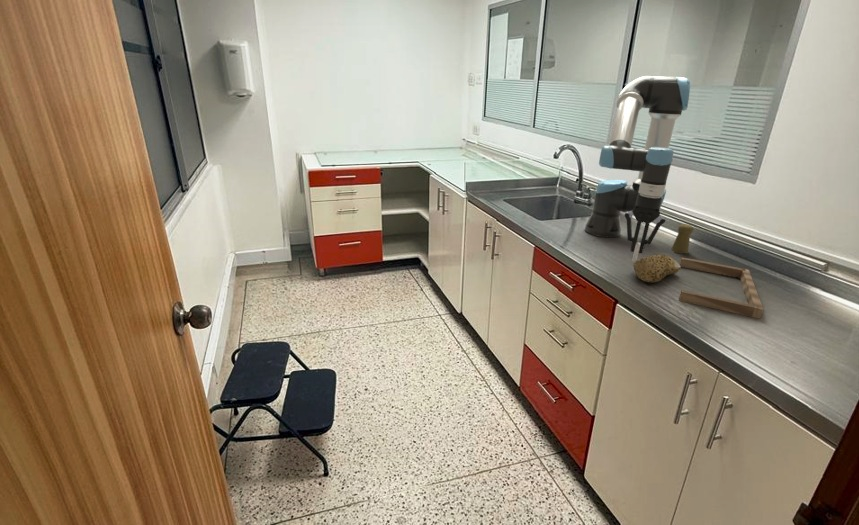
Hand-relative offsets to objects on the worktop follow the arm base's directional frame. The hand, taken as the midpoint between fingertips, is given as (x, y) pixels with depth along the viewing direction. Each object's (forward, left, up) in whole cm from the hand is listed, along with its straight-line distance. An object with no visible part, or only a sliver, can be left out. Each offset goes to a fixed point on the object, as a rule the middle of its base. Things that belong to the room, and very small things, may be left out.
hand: (634, 260), depth 155 cm
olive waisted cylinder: (-34, +15, -4) cm, 38 cm away
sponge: (+1, +7, -4) cm, 8 cm away
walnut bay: (0, +25, -4) cm, 25 cm away
